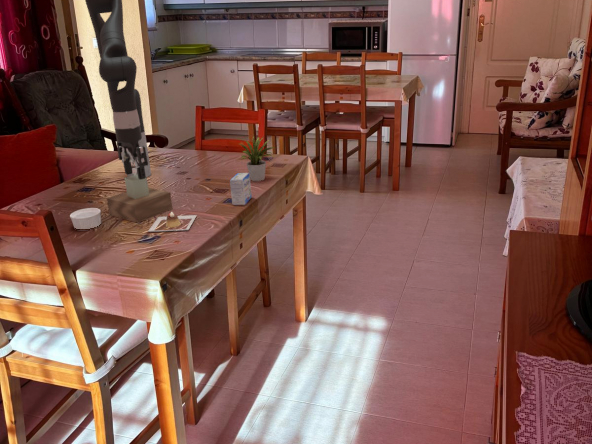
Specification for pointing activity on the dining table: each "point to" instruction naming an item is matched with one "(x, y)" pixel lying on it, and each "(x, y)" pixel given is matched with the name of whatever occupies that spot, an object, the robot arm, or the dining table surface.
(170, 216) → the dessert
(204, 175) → the dining table surface
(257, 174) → the house plant
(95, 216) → the ramekin
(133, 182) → the sage block
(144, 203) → the walnut block
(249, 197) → the medicine box
